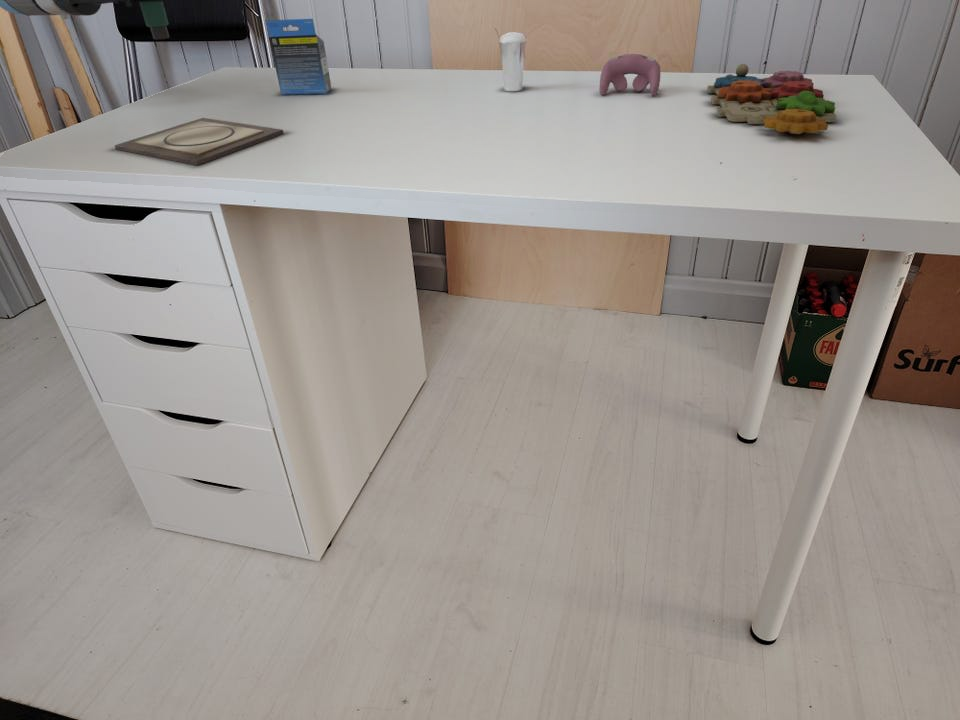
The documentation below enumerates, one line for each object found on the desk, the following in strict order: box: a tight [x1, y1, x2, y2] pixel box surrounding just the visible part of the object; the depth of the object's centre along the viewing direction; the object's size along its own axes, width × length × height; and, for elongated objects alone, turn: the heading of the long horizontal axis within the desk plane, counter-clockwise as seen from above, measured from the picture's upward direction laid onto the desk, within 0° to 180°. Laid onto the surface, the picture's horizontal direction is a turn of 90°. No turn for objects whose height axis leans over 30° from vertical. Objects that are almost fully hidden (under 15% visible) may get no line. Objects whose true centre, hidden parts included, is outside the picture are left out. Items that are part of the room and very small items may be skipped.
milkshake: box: [494, 27, 527, 92], centre depth 112 cm, size 4×5×10 cm
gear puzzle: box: [706, 63, 837, 135], centre depth 95 cm, size 31×16×4 cm, turn 169°
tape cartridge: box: [264, 18, 332, 96], centre depth 116 cm, size 9×4×12 cm, turn 84°
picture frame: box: [114, 117, 284, 166], centre depth 96 cm, size 18×16×1 cm
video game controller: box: [599, 53, 661, 97], centre depth 108 cm, size 10×5×7 cm, turn 74°
